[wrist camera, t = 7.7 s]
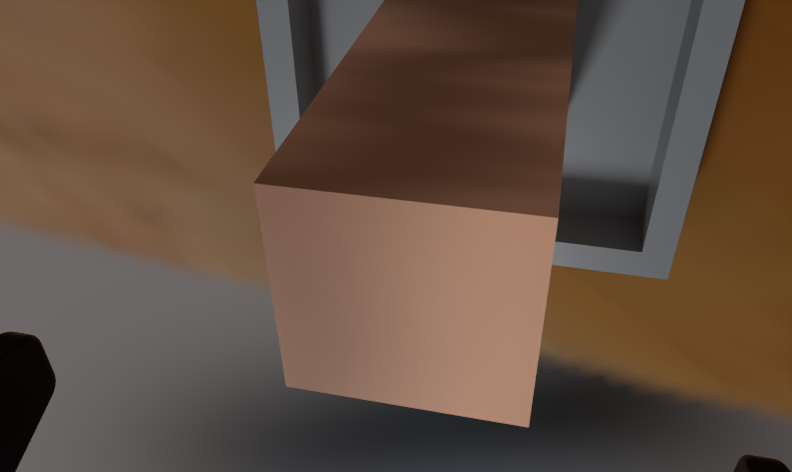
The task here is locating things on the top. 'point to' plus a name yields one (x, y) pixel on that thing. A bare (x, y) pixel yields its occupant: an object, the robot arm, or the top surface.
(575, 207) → the grey rectangular bin
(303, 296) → the terracotta peg
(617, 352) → the top surface
